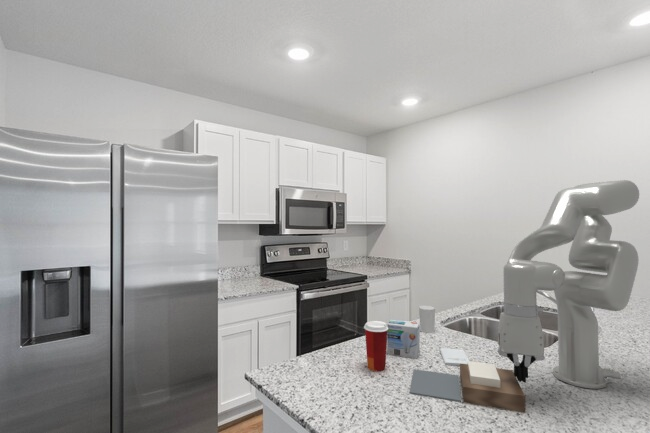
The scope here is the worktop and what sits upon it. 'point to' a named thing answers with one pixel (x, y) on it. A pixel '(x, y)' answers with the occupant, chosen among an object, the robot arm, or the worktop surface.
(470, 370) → the cream rectangular block
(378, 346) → the paper cup
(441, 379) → the mat
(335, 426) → the worktop surface
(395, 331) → the light bulb box
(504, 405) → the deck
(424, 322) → the grey tapered cup
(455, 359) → the external hard drive
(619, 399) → the worktop surface
